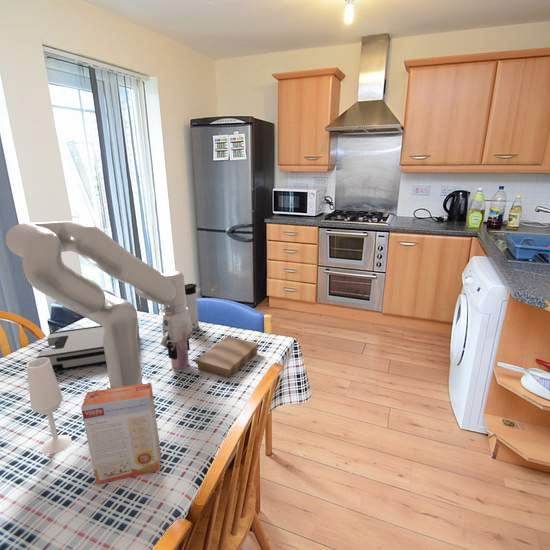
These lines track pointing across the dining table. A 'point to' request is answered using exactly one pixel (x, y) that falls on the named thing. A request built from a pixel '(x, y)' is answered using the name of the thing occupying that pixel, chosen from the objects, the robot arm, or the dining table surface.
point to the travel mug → (192, 304)
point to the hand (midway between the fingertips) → (179, 353)
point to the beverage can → (181, 352)
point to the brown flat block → (227, 357)
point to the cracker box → (122, 432)
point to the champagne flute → (46, 399)
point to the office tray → (77, 348)
